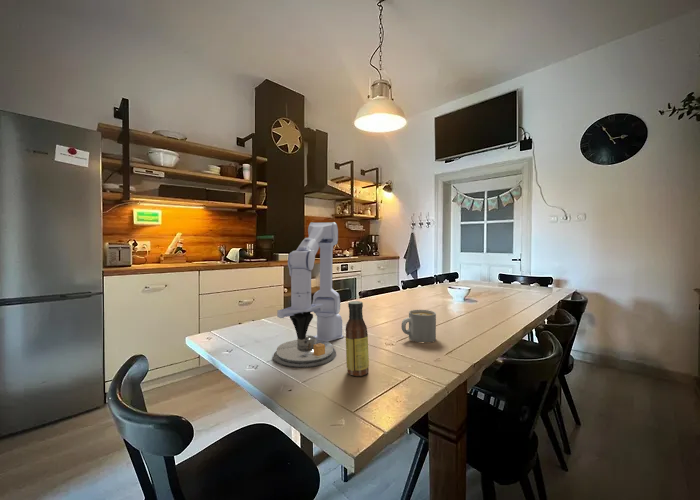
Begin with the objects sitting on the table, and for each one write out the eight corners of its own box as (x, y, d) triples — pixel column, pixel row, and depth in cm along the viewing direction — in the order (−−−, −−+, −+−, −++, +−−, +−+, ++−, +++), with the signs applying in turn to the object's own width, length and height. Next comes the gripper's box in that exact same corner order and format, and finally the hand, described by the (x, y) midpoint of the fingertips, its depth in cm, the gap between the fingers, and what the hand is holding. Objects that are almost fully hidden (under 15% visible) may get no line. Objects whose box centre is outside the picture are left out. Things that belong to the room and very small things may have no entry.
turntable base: (312, 341, 114) (312, 339, 114) (348, 355, 99) (348, 353, 99) (262, 354, 100) (262, 352, 100) (296, 373, 86) (296, 371, 85)
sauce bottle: (371, 369, 88) (371, 300, 88) (365, 379, 82) (365, 305, 82) (349, 366, 90) (349, 299, 90) (342, 375, 84) (342, 303, 84)
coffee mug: (429, 334, 122) (430, 309, 122) (439, 342, 112) (440, 315, 112) (397, 335, 121) (397, 310, 121) (404, 343, 111) (404, 316, 111)
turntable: (311, 339, 112) (311, 328, 112) (344, 352, 99) (344, 339, 99) (266, 351, 100) (266, 338, 100) (297, 368, 87) (297, 353, 87)
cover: (308, 343, 103) (308, 333, 103) (318, 348, 99) (318, 337, 99) (294, 347, 100) (294, 336, 100) (303, 352, 95) (303, 340, 95)
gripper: (286, 296, 81) (286, 347, 82) (329, 291, 91) (329, 336, 91) (273, 293, 86) (273, 341, 87) (315, 288, 96) (315, 331, 97)
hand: (301, 338), depth 89 cm, fingers closed
